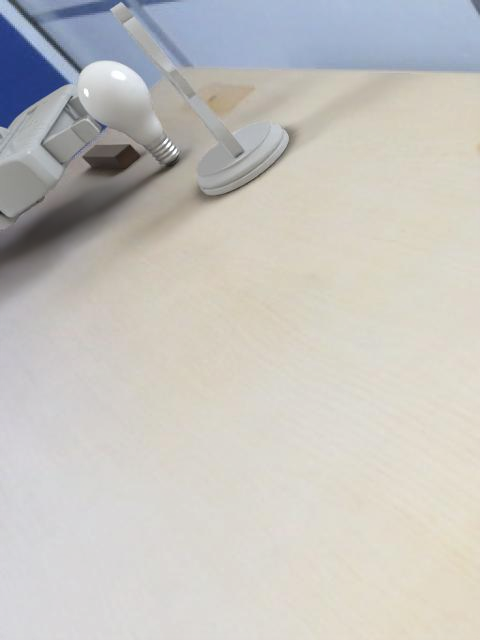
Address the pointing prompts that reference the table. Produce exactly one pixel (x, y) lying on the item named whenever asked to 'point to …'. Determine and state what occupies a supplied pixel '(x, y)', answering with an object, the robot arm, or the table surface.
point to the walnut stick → (111, 156)
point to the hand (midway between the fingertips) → (104, 106)
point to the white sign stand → (214, 125)
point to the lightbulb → (124, 106)
